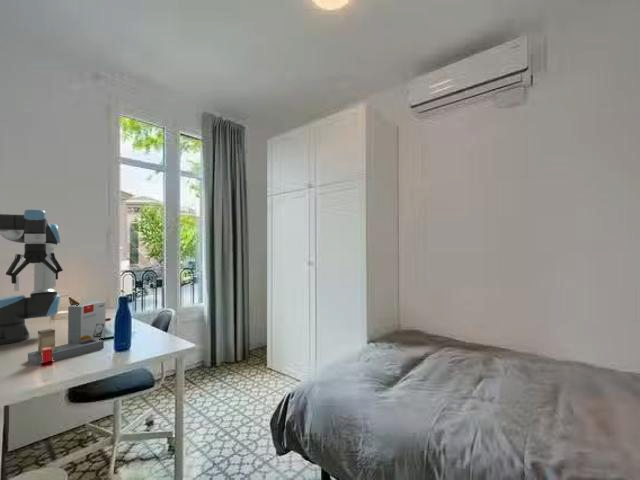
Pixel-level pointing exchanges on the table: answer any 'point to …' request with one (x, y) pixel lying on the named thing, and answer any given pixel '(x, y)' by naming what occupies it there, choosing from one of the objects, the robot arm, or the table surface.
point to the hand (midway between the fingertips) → (35, 288)
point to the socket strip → (69, 350)
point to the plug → (46, 339)
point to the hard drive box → (86, 321)
